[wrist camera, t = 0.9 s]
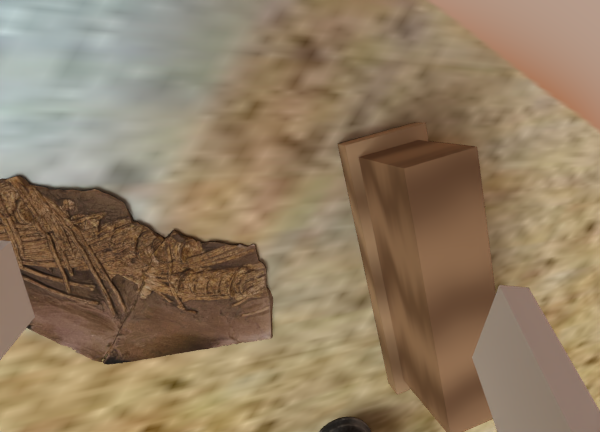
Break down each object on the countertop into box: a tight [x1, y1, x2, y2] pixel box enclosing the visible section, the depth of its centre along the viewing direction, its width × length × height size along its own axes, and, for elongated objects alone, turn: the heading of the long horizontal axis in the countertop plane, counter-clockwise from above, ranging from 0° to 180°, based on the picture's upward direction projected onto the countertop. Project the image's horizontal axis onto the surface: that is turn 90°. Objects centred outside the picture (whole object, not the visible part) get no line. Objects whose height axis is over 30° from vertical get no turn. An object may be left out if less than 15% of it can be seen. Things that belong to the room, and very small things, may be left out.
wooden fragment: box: [0, 176, 273, 364], centre depth 29 cm, size 26×11×1 cm, turn 66°
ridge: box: [338, 122, 496, 432], centre depth 31 cm, size 20×6×8 cm, turn 14°
